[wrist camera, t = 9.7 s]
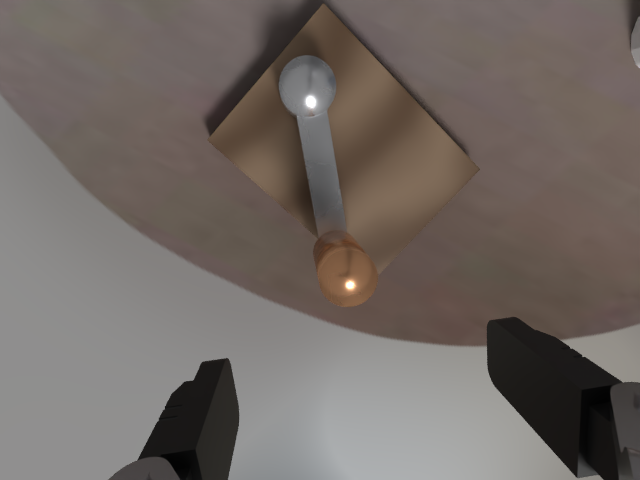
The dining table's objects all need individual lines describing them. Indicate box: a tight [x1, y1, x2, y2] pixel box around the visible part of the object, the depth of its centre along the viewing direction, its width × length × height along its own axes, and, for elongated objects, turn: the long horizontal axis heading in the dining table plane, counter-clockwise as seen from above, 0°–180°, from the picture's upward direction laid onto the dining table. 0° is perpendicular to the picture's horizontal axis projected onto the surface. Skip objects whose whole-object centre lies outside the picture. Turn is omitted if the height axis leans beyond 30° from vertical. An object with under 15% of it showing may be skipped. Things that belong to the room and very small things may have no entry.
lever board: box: [208, 3, 480, 275], centre depth 27 cm, size 16×12×2 cm
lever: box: [279, 55, 378, 307], centre depth 22 cm, size 14×4×8 cm, turn 10°
